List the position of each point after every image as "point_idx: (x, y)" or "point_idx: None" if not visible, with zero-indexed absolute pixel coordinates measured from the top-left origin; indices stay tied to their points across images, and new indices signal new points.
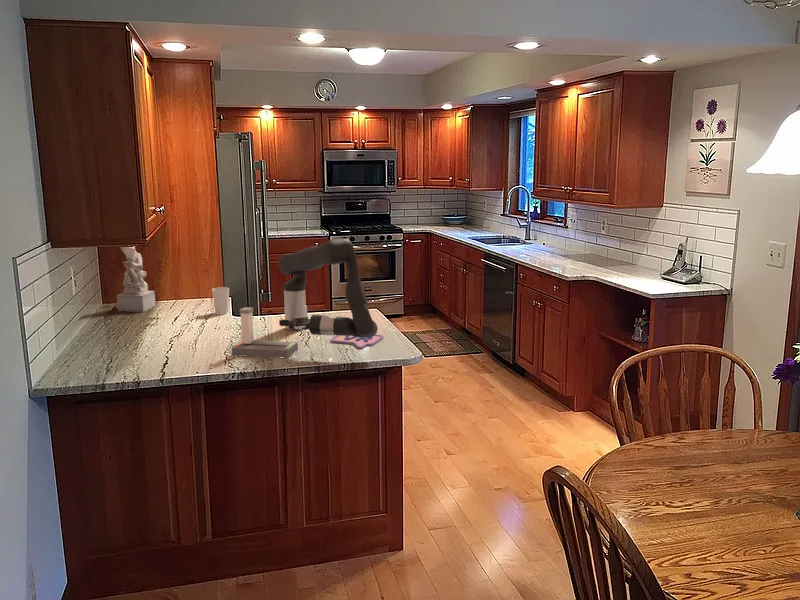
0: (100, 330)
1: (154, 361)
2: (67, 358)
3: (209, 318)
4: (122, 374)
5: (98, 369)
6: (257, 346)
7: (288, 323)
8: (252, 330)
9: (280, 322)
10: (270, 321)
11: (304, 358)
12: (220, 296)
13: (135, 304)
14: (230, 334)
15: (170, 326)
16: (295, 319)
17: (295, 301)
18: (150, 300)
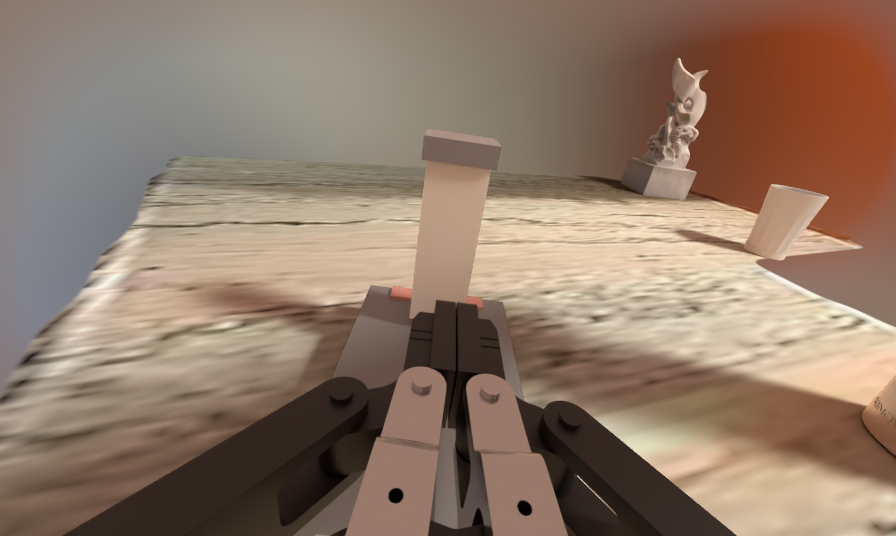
0: (516, 177)
1: (319, 212)
2: (356, 166)
3: (701, 243)
4: (221, 193)
5: (276, 179)
6: (395, 355)
7: (391, 394)
8: (462, 273)
9: (417, 319)
10: (858, 343)
11: None
12: (777, 207)
13: (640, 178)
14: (615, 281)
15: (592, 213)
16: (518, 440)
17: None
18: (674, 184)
